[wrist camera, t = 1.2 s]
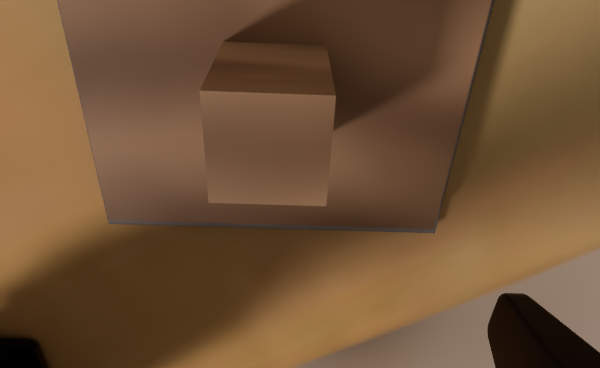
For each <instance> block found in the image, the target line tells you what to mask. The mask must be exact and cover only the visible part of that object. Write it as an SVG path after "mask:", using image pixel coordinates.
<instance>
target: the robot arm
mask: <svg viewBox="0 0 600 368" xmlns="http://www.w3.org/2000/svg"><path fill="white" fill-rule="evenodd" d="M488 339H489V343H490V347H491V351H492V354H493V359H494V363H495V367H496V368H600V353H599V352H598V351H597V350H596V349H594V348H593V347H592V346H591V345H589V344H588V343H587V342H586V341H584V340H583V339H582V338H581V337H579V336H578V335H577V334H576V333H574V332H573V331H572V330H571V329H569V328H568V327H567V326H565V325H564V324H563V323H562V322H560V321H559V320H558V319H557V318H555V317H554V316H553V315H552V314H550V313H549V312H548V311H547V310H545V309H544V308H543V307H542V306H540V305H539V304H538V303H537V302H535V301H534V300H533V299H532V298H530V297H529V296H527V295H525V294H516V293H515V294H514V293H504V294H502V295H501V296H499V298H498V300H497V303H496V305H495V308H494V310H493V313H492V315H491V318H490V321H489V324H488ZM0 368H48V367H47V364H46V362H45V360H44V357H43V355H42V352H41V350H40V347H39V345H38V344H37V343H36V342H34V341H32V340H16V339H0Z"/></svg>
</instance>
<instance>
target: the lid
mask: <svg viewBox="0 0 600 368" xmlns="http://www.w3.org/2000/svg"><path fill="white" fill-rule="evenodd" d="M491 2H492V0H58V4H59V8H60V13H61V17H62V21H63V26H64V30H65V34H66V39H67V43H68V47H69V52H70V56H71V60H72V65H73V69H74V73H75V78H76V82H77V86H78V91H79V95H80V99H81V104H82V108H83V112H84V117H85V121H86V125H87V130H88V134H89V138H90V143H91V147H92V151H93V156H94V160H95V164H96V169H97V173H98V177H99V182H100V186H101V190H102V195H103V199H104V203H105V208H106V212H107V216H108V220H128V221H163V222H198V223H233V224H268V225H303V226H338V227H373V228H408V229H434V227H435V223H436V219H437V215H438V211H439V207H440V203H441V199H442V195H443V191H444V187H445V183H446V179H447V175H448V171H449V167H450V163H451V160H452V156H453V152H454V148H455V144H456V140H457V136H458V132H459V128H460V124H461V120H462V116H463V112H464V108H465V104H466V100H467V96H468V92H469V88H470V84H471V81H472V77H473V73H474V69H475V65H476V61H477V57H478V53H479V49H480V45H481V41H482V37H483V33H484V29H485V25H486V21H487V17H488V13H489V9H490V5H491Z"/></svg>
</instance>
